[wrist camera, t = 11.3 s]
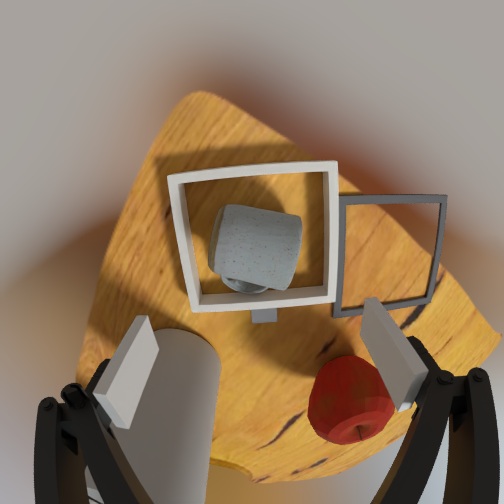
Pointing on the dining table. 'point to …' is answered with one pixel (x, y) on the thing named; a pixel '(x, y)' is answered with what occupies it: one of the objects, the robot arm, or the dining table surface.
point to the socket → (267, 300)
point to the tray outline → (341, 246)
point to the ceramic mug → (254, 248)
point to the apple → (349, 401)
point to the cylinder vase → (173, 421)
